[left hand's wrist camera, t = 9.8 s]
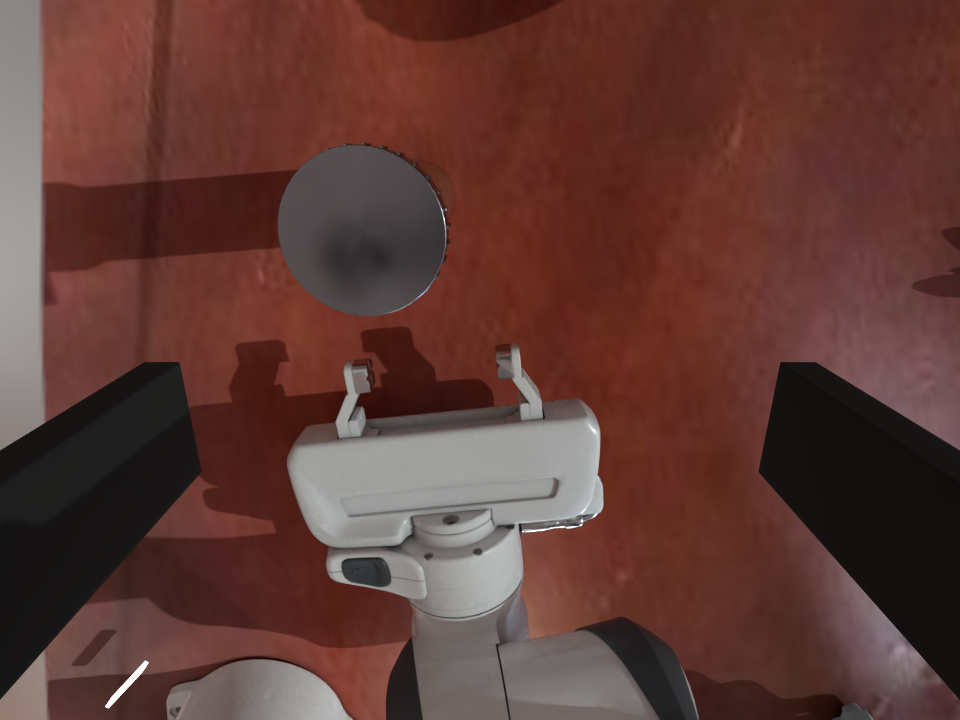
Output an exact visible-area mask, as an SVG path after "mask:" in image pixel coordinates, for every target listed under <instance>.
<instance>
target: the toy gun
mask: <svg viewBox="0 0 960 720" xmlns="http://www.w3.org/2000/svg"><path fill="white" fill-rule="evenodd" d="M833 720H873V718H872V717H871V716H870V715H869V713H868V712H867V711H866V710H863V711H862V710H861V709H860V707H859V706H858V705H857V704H855V703H851V704H847V705H844V706H843V707H842V714H841V716H840V717H837V718H833Z"/></svg>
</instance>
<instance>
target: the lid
mask: <svg viewBox="0 0 960 720" xmlns="http://www.w3.org/2000/svg"><path fill="white" fill-rule="evenodd" d="M342 145H343V146H339V147H335V148H332V149H325V151H324V152H322V153H320V154H318V155H316V156H314V157H312V158H310V160H308V161H307V162H306V163H305V164H304V165H303V166H302V167H301V168H299V169H298V171H297V172H296V173H295V174H294V176H293V177H292V178H291V180H290V182H289V183H288V185H287V187H286V189H285V191H284V194H283V196H282V199H281V203H280V207H279V214H278V235H279V242H280V246H281V250H282V253H283V256H284V258H285V260H286V263H287V265H288V267H289V268H290V270H291V272H292V274H293V275H294V276H295V278H296V279H297V281H298V282H299V283H300V284H301V285H302V286H303V287H304V289H305V290H306V291H307V292H309V293H310V294H311V295H312V296H313V297H314V298H316V299H317V300H319V301H320V302H322V303H323V304H325V305H327V306H329V307H331V308H333V309H335V310H338V311H341V312H344V313H348V314H352V315H359V316H377V315H384V314H388V313H392V312H395V311H397V310H400V309H402V308H404V307H406V306H408V305H409V304H411V303H414V302H415V301H416V300H417V299H418V298H419V297H420V296H422V294H423V293H424V292H427V291H428V289H429V287H430V285H431V284H432V283H433V281H434V280H435V279H437V278H438V276H439V273H440V268H441V265H442V263H443V264H445V261H446V257H447V255H445V253H446V250H447V247H449V244H450V240H451V239H448V238H449V229H450V226H451V222H450V223H449V222H448V216H447V209H448V206H445V204H444V201H443V199H442V196H441V194H440V193H441V192H442V191H441V189H440V190H438V189H437V187H436V185H435V184H434V182H433V181H432V180H431V178H432V176H431V175H428V174H427V173H426V172H425V171H424V170H423V169H422V168H421V167H420V166H419V163H418V162H413V161H412V160H410V159H409V158H407V157H405V156H404V155H405V153H403V152H394V151H392V150H389V149H388V147H387V146H382V145H379V147H375V146H371V144H369V143H364V142H361V145H352V144H346V143H345V144H342Z"/></svg>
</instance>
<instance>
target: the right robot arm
mask: <svg viewBox="0 0 960 720" xmlns="http://www.w3.org/2000/svg"><path fill="white" fill-rule="evenodd" d="M495 350H496V360H497V369H498V378H499V379H507V378H512V380H513V382H514V383H515V384H516V386H517V387H518V388H519V390H520V391H519V392H518V404H516V405H506V406H496V407H486V408H476V409H466V410H456V411H446V412H436V413H426V414H416V415H406V416H396V417H386V418H376V419H366V418H365V413H364V408H363V407H356V408H355V404H356V402H357V399H358V397H359V394H360V393H368V392H371V390H372V388H373V387H372V386H374V384H375V382H376V381H375V376H374V372H373V371H372V370H371V368H372V366H373V365H372V361H371V359H359V360H349V361H347V362H346V364H345V365H344V378H345V383H346V388H347V394H346V396H345V399H344V401H343V404H342V407H341V409H340V412H339V414H338V417H337V419H336V423H326V424H315V425H310V426H308V427H306V428H305V429H304V430H303V432H302V433H301V434H300V435H299V437H298V438H297V439H296V441H295V442H294V444H293V446H292V448H291V449H290V451H289V454H288V457H287V468H288V473H289V477H290V480H291V484H292V487H293V490H294V493H295V496H296V499H297V502H298V505H299V507H300V510H301V512H302V515H303V517H304V520H305V522H306V524H307V526H308V528H309V530H310V531H311V533H312V534H313V535H314V536H315V537H316V538H317V539H318V540H319V541H320V542H322V543H324V544H326V545H328V546H329V548H328V553H327V558H326V568H327V572H328V575H329V576H330V578H331V579H333V580H335V581H337V582H341V583H346V584H352V585H358V586H364V587H369V588H374V589H379V590H383V591H387V592H391V593H395V594H398V595H401V596H404V597H407V600H408V601H409V603H410V605H411V607H412V609H413V617H412V625H411V628H412V637H413V638H410V639H409V640H408V642H407V643H406V644H405V646H404V648H403V649H402V651H401V653H400V655H399V657H398V659H397V661H396V663H395V665H394V667H393V669H392V671H391V674H390V677H389V682H388V687H387V695H386V720H699V718H698V714H697V710H696V705H695V701H694V698H693V695H692V692H691V688H690V685H689V683H688V680H687V678H686V676H685V673H684V671H683V669H682V667H681V665H680V663H679V661H678V659H677V656H676V655H675V653H674V651H673V650H672V648H671V647H670V646H669V645H667V644H666V643H665V642H664V641H663V640H661V639H660V638H659V637H657V636H656V635H654V634H653V633H651V632H650V631H648V630H647V629H645V628H643V627H642V626H640V625H638V624H637V623H635V622H633V621H631V620H629V619H627V618H625V617H618V618H614V619H610V620H607V621H603V622H600V623H596V624H592V625H589V626H585V627H582V628H578V629H576V630H575V631H573V632H568V633H562V634H557V635H551V636H546V637H540V638H534V639H530V637H529V621H528V613H527V607H526V604H525V601H524V599H523V597H522V595H521V593H520V590H521V586H522V582H523V559H522V549H521V539H520V534H521V533H529V532H539V531H546V530H550V529H554V528H555V529H557V528H565V529H572V528H578V527H581V526H583V525H584V521H588V520H590V519H592V518H594V517H595V516H596V515H597V514H598V513H600V512H601V511H602V508H603V503H604V488H603V481H602V479H601V477H600V476H599V474H598V466H599V455H600V429H599V425H598V422H597V419H596V417H595V415H594V413H593V411H592V410H591V409H590V408H589V407H588V406H587V405H586V404H585V403H584V402H583V401H581V400H580V399H566V400H556V401H546V402H542V401H541V398H540V394H539V391H538V388H537V387H536V385H535V384H534V383H533V381H532V380H531V379H530V377H529V376H528V375H527V374H526V372H525V371H524V370H523V368H522V367H521V362H520V352H519V346H518V343H512V344H503V345H495ZM583 515H584V516H583ZM147 664H148V662H147V661H145V662H144V663H143V664H142V665H141V666H140V667H139V668H138V669H137V670H136V671H135V673H134V674H133V675H132V676H131V677H130V678H129V679H128V680H127V681H126V682H125V683H124V684H123V685H122V687H121V688H120V689H119V690H118V691H117V692H116V693H115V694H114V695H113V696H112V697H111V699H110V700H109V702H108V703H107V705H106V706H105V707H107V708H109V707H110V706H111V705H112V704H113V703H114V702H115V701H116V700H117V699H118V698H119V696H120V695H121V694H122V693H123V692H124V691H125V690H126V689H127V688H128V687H129V686H130V685H131V684H132V683H133V681H134V680H135V679H136V678H137V677H138V676H139V675H140V674H141V673H142V672H143V670H144V669H145V667H146V666H147ZM166 705H167V717H168V720H353V719H352V718H351V717H350V716H348V715H347V714H346V712H345V711H344V709H343V707H342V705H341V703H340V701H339V699H338V697H337V696H336V694H335V693H334V691H333V690H332V689H331V688H330V687H329V686H328V685H327V684H326V683H325V682H324V681H323V680H321V679H320V678H319V677H317V676H316V675H314V674H312V673H311V672H309V671H307V670H305V669H303V668H301V667H298V666H295V665H292V664H289V663H285V662H281V661H275V660H267V659H251V660H243V661H237V662H233V663H230V664H227V665H225V666H222V667H220V668H218V669H216V670H215V671H213V672H212V673H210V674H209V675H207V676H206V677H204V678H202V679H200V680H197V681H192V682H187V683H182V684H179V685H176V686H174V687H173V688H172V689H171V691H170V693H169V695H168V698H167V701H166Z"/></svg>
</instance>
